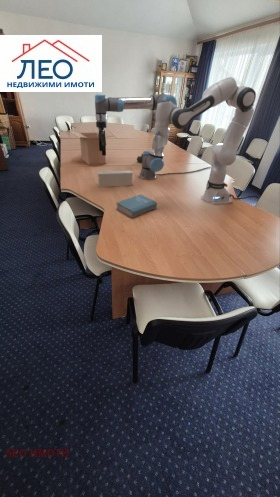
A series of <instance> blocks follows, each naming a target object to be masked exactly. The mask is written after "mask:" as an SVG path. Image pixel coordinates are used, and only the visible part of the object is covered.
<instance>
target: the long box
mask: <svg viewBox="0 0 280 497" xmlns="http://www.w3.org/2000/svg"><path fill="white" fill-rule="evenodd" d="M133 175H134V173H133V171H132V170H129V169H128V170H127V169H126V170H101V171H100V170H99V171H97V185H98V187H99V188H109V187H127V186H128V187H129V186H133V178H134V177H133Z"/></svg>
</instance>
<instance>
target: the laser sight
mask: <svg viewBox="0 0 280 497" xmlns="http://www.w3.org/2000/svg"><path fill="white" fill-rule="evenodd" d="M142 155H143V153H141V155H140V156H139V155H137V157H136V163H140V164H142V158H143V156H142Z"/></svg>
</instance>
